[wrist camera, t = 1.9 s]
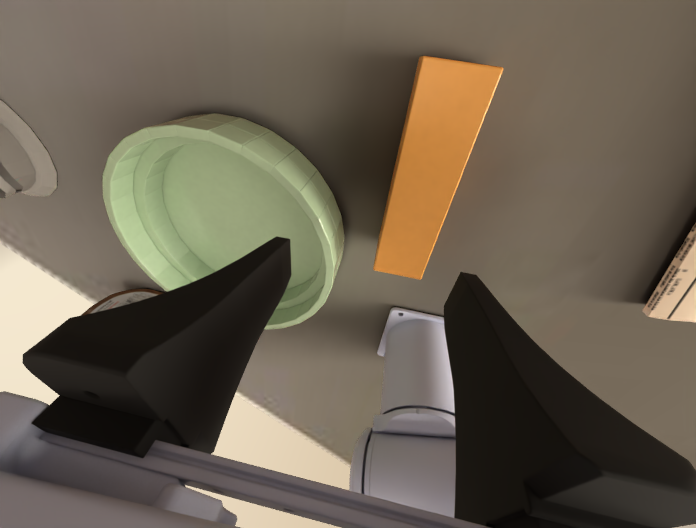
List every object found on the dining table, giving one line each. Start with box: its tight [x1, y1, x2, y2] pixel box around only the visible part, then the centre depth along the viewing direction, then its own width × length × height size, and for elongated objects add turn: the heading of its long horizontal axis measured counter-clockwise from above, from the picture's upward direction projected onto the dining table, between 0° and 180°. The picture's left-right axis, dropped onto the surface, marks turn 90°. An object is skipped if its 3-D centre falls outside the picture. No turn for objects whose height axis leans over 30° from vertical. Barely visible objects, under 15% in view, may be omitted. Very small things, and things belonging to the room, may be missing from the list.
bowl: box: [102, 113, 344, 330], centre depth 21 cm, size 17×17×4 cm
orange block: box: [373, 56, 503, 279], centre depth 16 cm, size 3×12×4 cm, turn 174°
